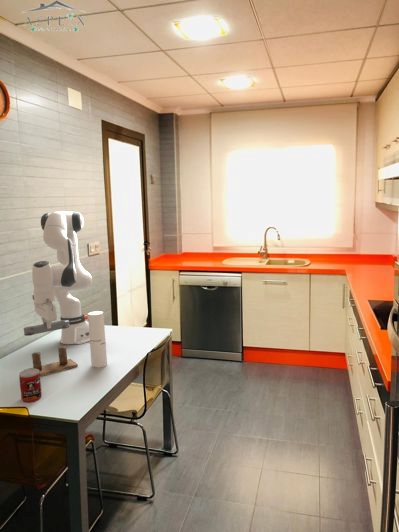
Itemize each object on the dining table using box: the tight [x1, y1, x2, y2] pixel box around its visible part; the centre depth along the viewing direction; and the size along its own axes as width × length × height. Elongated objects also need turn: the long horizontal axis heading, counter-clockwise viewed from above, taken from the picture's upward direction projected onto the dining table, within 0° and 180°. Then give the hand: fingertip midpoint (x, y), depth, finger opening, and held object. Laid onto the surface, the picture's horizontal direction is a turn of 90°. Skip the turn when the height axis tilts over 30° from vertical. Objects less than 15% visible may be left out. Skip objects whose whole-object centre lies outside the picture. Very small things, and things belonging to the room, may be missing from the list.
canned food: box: [18, 367, 43, 403], centre depth 179 cm, size 8×8×11 cm
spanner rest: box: [24, 345, 79, 377], centre depth 209 cm, size 22×10×9 cm, turn 126°
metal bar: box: [23, 320, 70, 337], centre depth 207 cm, size 20×4×3 cm, turn 126°
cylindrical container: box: [87, 310, 108, 368], centre depth 212 cm, size 7×7×25 cm
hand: (47, 327), depth 207 cm, fingers closed on metal bar, 3 cm apart
